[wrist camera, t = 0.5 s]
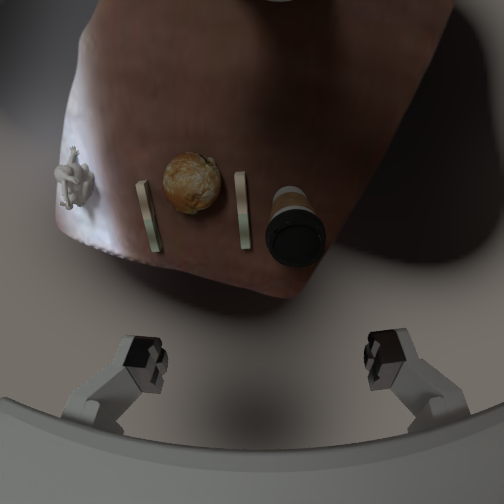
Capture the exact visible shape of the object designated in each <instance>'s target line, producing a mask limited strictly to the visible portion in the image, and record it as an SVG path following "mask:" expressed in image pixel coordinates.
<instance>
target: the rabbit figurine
mask: <svg viewBox="0 0 504 504" xmlns="http://www.w3.org/2000/svg"><path fill="white" fill-rule="evenodd" d="M70 150H71V156H70V158H69V161H68V164H67V165H59V166H58V167H57V168H56V169H55V172H54V173H55V178H56V179H57V181H58V182H60V183H61V184H62V195H63V197H64V200H65V201H67V202H66V204H65V203H63V202H60V205H62V206H65V207H66V209H67V210H71V209H72V208H73V204H76V205H77V206H79V207H81V206H83V205H84V204H85V202H86V200H87V199H88V198H89V197H90V195H91V193H92V189H93V180H94V174H93V173H92V172H90V171H89V169H88V166H87V164H85V163H83V164H82V165H81V166H80V165H78V164H76V163H74V162H75V156H76V155H78V154H79V153H77V152H78V151H75V145H74V147H73V146H72V148H71V147H70Z"/></svg>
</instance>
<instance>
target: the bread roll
mask: <svg viewBox="0 0 504 504" xmlns="http://www.w3.org/2000/svg"><path fill="white" fill-rule="evenodd" d="M215 164H216V163H215V161H214V160H213V159H212V158H210V157H208V158H206V157H204V156H202V155H200V154H197V153H195V152H185V153H181V154H179V155H177V156H175V157H174V158H173V159H172V160H171V161H170V162H169V164H168V165H167V167H166V169H165V172H164V176H163V183H162V187H163V191H164V195H165V197H166V198H167V201H169V202H170V203H171V204H172V205H173V206H174V209H175V210H178V211H181V212H183V213H186V214H188V213H189V214H196V213H198V210H202V209H206V208H207V207H210V205H211V204H212V203H213V202H214V201H215V200H216V199H217V197H218V196H219V194H220V191H221V175H220V172H219V170H218V168H217V166H215Z"/></svg>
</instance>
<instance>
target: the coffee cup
mask: <svg viewBox="0 0 504 504" xmlns="http://www.w3.org/2000/svg"><path fill="white" fill-rule="evenodd" d="M265 236H266V244H267V247H268V249H269V251H270V253H271V255H272V257H273V258H274V259H275V260H277V261H278V262H279V263H281V264H283V265H286V266H289V267H305V266H308V265H311V264H312V263H314V262H315V261H317V260H318V259H319V258H320V257H321V255H322V253H323V251H324V248H325V242H326V234H325V228H324V225H323V223H322V222H321V220H320V219H319V218H318V216H317V214H316V213H315V211H314V209H313V208H312V206H311V204H310V202H309V201H308V199H307V197H306V195H305V194H304V192H303V191H302V190H301V189H299V188H297V187H294V186H286V187H283V188H281V189H279V190H278V191H277V192H276V194H275V196H274V198H273V204H272V209H271V214H270V219H269V224H268V227H267V229H266V234H265Z"/></svg>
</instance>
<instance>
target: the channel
mask: <svg viewBox="0 0 504 504" xmlns="http://www.w3.org/2000/svg"><path fill="white" fill-rule="evenodd" d="M234 177H235V187H236V198H237V208H238V219H239V229H240V239H241V249H250V246H251V240H250V227H249V215H248V202H247V190H246V177H245V171H243V172H235V175H234ZM136 189H137V193H138V198H139V202H140V207H141V211H142V215H143V219H144V223H145V227H146V231H147V235H148V239H149V243H150V246H151V250H152V252H160V250H161V248H162V243H161V239H160V234H159V230H158V226H157V222H156V217H155V213H154V208H153V204H152V199H151V194H150V190H149V185H148V180H142V181H139V182H138V183H137V184H136Z"/></svg>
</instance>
